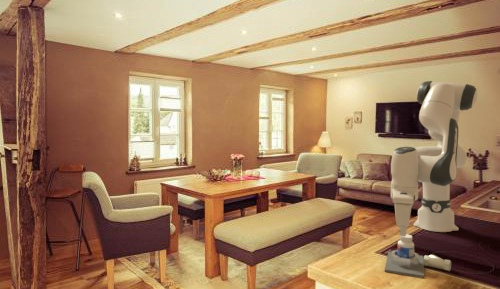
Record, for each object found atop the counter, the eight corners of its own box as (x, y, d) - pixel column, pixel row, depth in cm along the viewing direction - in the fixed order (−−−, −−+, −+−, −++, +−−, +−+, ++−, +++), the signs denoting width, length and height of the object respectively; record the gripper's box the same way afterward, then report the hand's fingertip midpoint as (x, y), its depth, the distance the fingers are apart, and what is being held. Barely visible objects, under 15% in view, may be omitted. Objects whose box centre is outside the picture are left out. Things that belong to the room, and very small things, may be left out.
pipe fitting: (427, 262, 126) (423, 267, 121) (427, 251, 126) (423, 256, 121) (452, 267, 121) (449, 273, 116) (452, 256, 121) (449, 261, 116)
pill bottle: (394, 261, 124) (394, 234, 123) (403, 258, 127) (403, 232, 126) (407, 266, 119) (408, 239, 119) (417, 263, 122) (417, 236, 121)
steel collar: (392, 256, 129) (392, 248, 129) (418, 259, 125) (418, 251, 125) (390, 265, 121) (391, 256, 121) (418, 269, 117) (418, 260, 117)
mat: (388, 253, 134) (388, 251, 134) (423, 257, 129) (423, 255, 129) (384, 271, 118) (384, 269, 118) (424, 278, 112) (424, 275, 112)
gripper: (396, 186, 133) (395, 222, 134) (392, 198, 114) (391, 239, 115) (414, 188, 130) (413, 223, 131) (413, 200, 112) (412, 242, 113)
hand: (403, 231), depth 123 cm, fingers open, 8 cm apart
